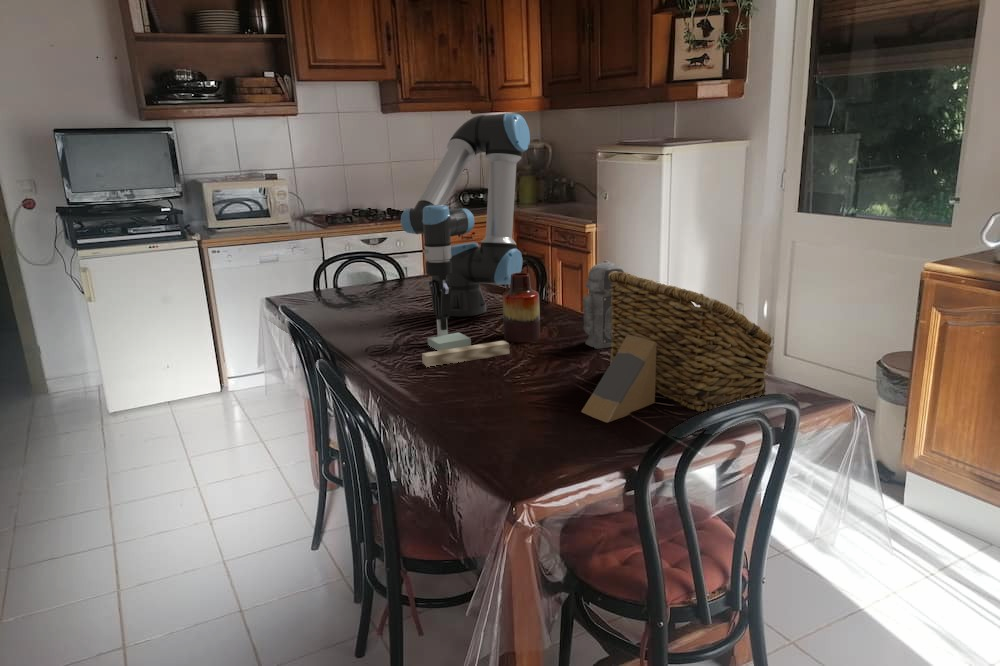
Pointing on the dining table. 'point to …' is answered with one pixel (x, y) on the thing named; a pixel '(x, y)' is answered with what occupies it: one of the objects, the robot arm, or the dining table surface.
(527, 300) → the vase
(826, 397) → the dining table surface
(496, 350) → the curved wooden bar
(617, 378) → the sandwich container
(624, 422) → the dining table surface
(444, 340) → the block
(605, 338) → the figurine
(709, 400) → the basket
